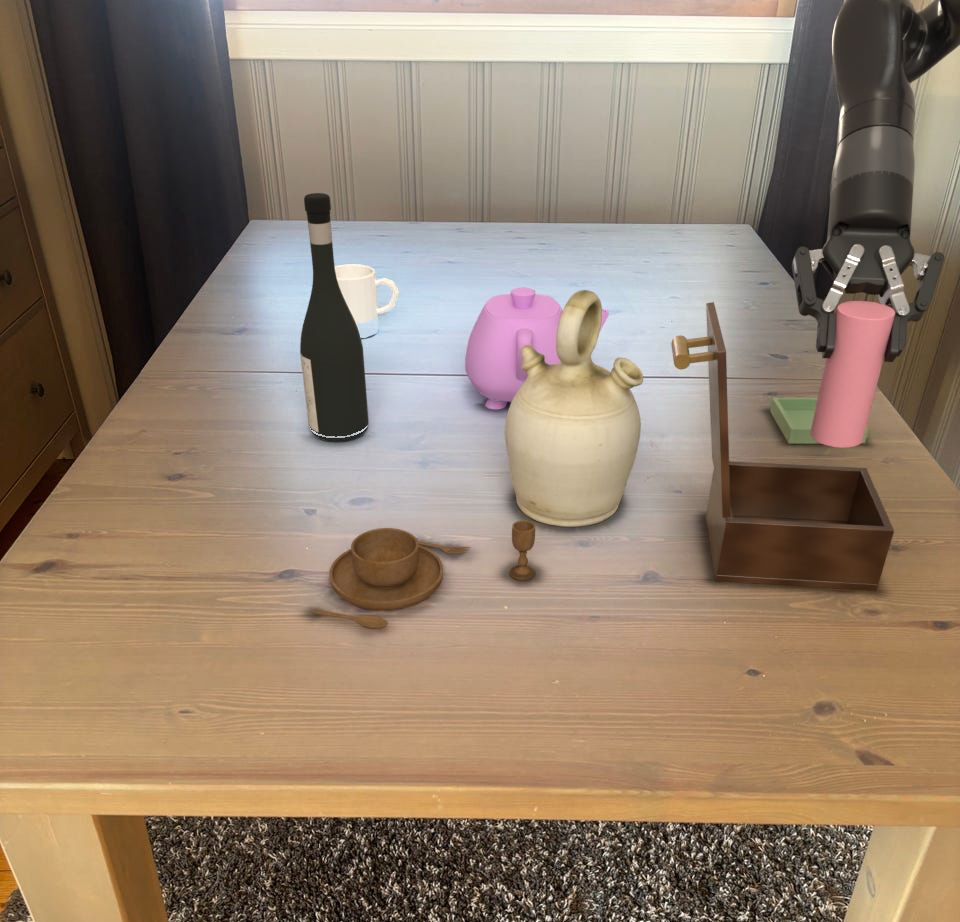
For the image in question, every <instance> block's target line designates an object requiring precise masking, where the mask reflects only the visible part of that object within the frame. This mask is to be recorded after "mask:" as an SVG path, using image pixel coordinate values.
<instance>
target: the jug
mask: <svg viewBox="0 0 960 922" xmlns="http://www.w3.org/2000/svg"><path fill="white" fill-rule="evenodd" d="M602 309H603V305H602V301H601V299H600V297H599V296H598V295H597V294H596V293H595V292H594V291H592V290H589V289H581V290H577V291H576V292H574V293H573V294H572V295H570V297H569V298H568V300H567V301H566V304H565V305H564V307H563V308H562V310H563V311H562V314H561V317H560V321H559V325H558V329H557V337H556V351H557V355H558V358H559V359H560V361H561V363H560V364H552V365H549V364H547V363H546V362H545V356H544V355H543V354H541V353H538V352H537V351H536V350H535V349H534V348H533V347H531V346H530V345H525V346H524V347H523V348H522V350H521V354H522V359H523V364H522V366H521V368H522V370H524V371H526V372H527V379H526V380H525V382H524V383H523V384H522V385H521V387H520V388H519V390H518V391H517V393H516V395H515V396H514V398H513V400H512V402H511V401H510V405H509V408H508V410H507V414H506V419H505V425H504V440H505V447H506V454H507V459H508V460H507V461H508V466H509V472H510V476H511V477H510V479H511V484H512V488H513V491H514V495H515V498H516V499H515V500H516V504H517V506H518V508H519V510H520V511H521V512H522V513H523V514H524V515H525V516H526V517H527V518H530V519H531V520H534V521H536V522H538V523H542V524H545V525H549V526H550V525H551V526H556V527H561V528H562V527H564V528H575V527H578V528H579V527H585V526H591V525H596V524H599V523H602V522H604V521H605V520H607V519H609V518H611V517H612V516H613V515H614V514H615V513H616V511H617V510H618V508H619V505H620V502H621V500H622V498H623V495H624V492H625V489H626V486H627V484H628V483H627V482H628V480H629V477H630V475H631V473H632V470H633V467H634V463H635V461H636V456H637V452H638V448H639V444H640V438H641V426H642V421H641V414H640V410H639V407H638V403H637V401H636V399H635V395H634V394H633V392H632V390H631V389H633V388H634V387H638V386H641V385H642V384H643V383H644V374H643V372H642V370H641V369H640V368H639V366H637V364H636V363H634V362H633V361H632V360H630V359H629V358H627V357H621V356H620V357H616V358H615V359H614V360H613V367H612V368H611V370H608V369H606V368H604V367H603V366H600V365H598V364H596V363H595V362H594V361H593V359H592V354H593V352H594V350H595V348H596V345H597V343H598V340H599V336H600V334H601V333H600V332H601V331H600V328H601V322H602Z"/></svg>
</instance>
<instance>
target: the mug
mask: <svg viewBox="0 0 960 922" xmlns="http://www.w3.org/2000/svg"><path fill="white" fill-rule="evenodd" d="M334 266H335V273H336V277H337V281H338V284H339V287H340V290H341V293H342V295H343V297H344V299H345V301H346V304H347V306H348V308H349V310H350V312H351V314H352V316H353V318H354V320H355V322H356V324H358V323H365V322H369V321H371V320H373V319H375V318H377V316H378V317H379V315H382V314H385V313H387V312H389V311H391V310H393V309H394V307H395V305H396V302H397V301H398V298H399V295H400V294H401V292H400V289H399V288H398V286H397V284H396V282H395V281H394V280H392V279H389V278H387V277H382V278H378V279H377V273H376V270H375V269H374V268H373V267H372V266H370V265H367V264H360V263H359V264H358V263H346V264H339V265H334ZM380 285H383V286H386V287H388V288H389V289H390V291H391V293H392V295H391V298H390V300H389V302H388V303H387V304H385V305H384V306H382V307H379V304H378V289H377V287H378V286H380Z"/></svg>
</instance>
